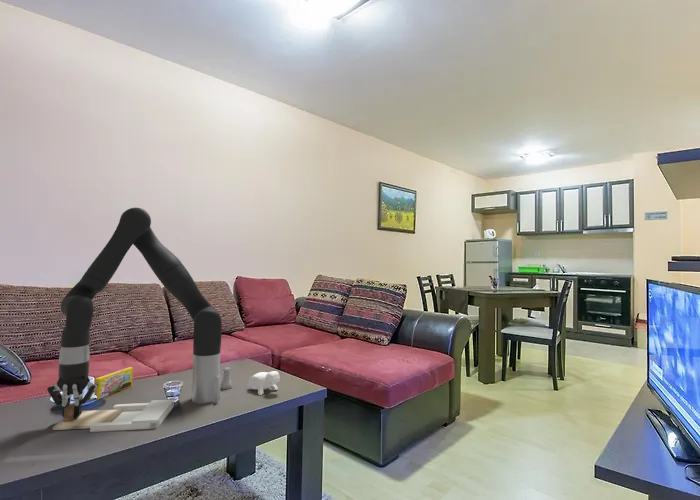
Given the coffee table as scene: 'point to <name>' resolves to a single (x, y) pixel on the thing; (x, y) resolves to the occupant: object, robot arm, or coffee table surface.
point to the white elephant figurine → (264, 381)
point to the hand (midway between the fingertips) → (71, 417)
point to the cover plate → (85, 418)
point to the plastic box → (137, 416)
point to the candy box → (114, 383)
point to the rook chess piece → (226, 379)
